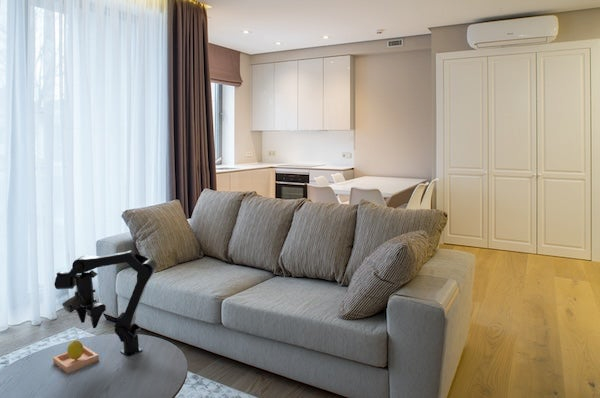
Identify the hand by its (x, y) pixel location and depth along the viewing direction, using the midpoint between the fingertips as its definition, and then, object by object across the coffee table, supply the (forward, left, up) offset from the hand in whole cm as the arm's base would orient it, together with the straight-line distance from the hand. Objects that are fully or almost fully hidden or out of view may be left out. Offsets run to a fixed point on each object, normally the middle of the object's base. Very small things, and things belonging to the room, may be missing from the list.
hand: (88, 325), depth 176 cm
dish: (-3, +7, -12) cm, 14 cm away
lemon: (-3, +7, -11) cm, 14 cm away
